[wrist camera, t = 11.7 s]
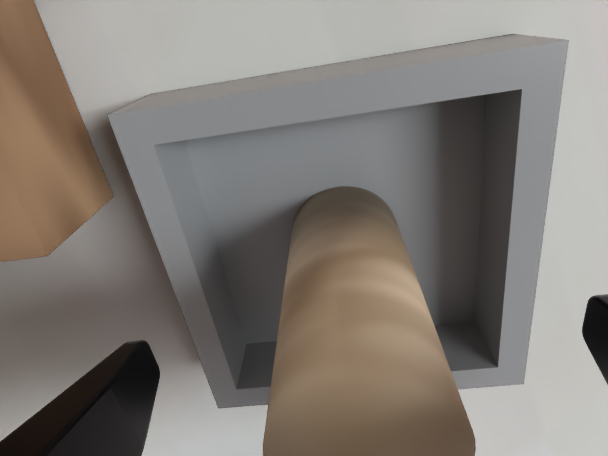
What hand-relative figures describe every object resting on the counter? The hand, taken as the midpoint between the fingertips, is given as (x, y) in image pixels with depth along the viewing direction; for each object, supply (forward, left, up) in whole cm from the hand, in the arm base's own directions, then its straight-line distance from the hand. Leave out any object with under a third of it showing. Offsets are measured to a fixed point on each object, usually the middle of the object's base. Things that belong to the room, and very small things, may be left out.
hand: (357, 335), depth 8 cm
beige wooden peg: (0, 0, -4) cm, 5 cm away
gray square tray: (0, 0, -5) cm, 5 cm away
